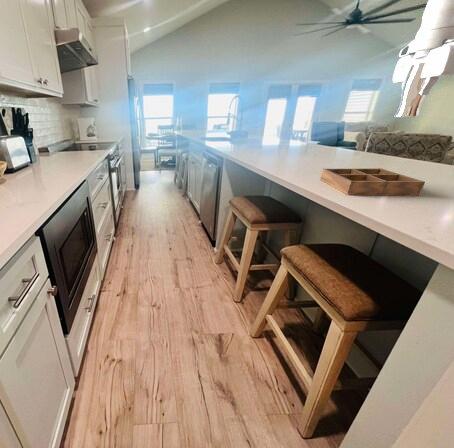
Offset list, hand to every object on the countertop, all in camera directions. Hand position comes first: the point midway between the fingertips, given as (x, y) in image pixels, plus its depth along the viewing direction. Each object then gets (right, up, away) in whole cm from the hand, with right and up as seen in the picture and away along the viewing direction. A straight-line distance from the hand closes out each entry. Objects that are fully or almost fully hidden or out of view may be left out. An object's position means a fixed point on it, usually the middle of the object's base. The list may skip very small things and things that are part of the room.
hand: (413, 96), depth 77 cm
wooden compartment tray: (-12, -28, +5) cm, 31 cm away
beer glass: (0, -6, +3) cm, 6 cm away
